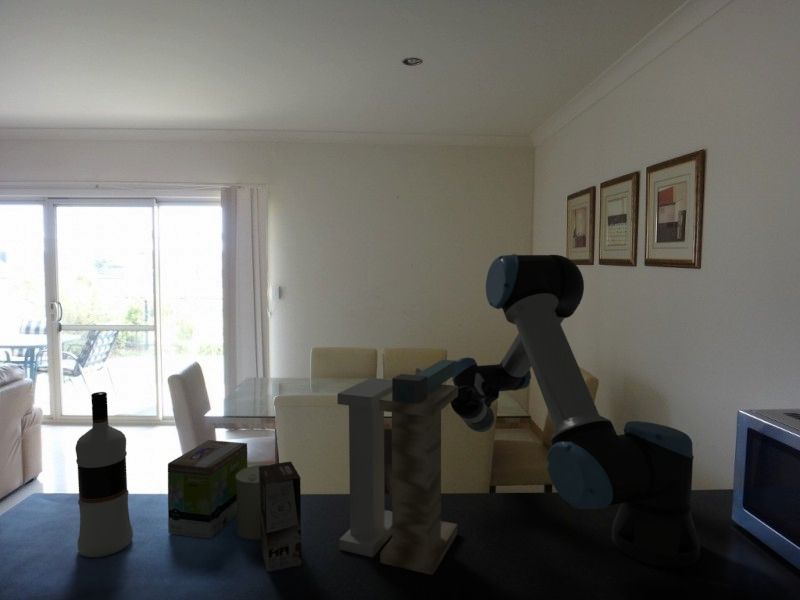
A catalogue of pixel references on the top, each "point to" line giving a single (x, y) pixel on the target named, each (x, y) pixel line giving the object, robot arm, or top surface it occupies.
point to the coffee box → (280, 515)
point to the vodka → (102, 486)
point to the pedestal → (417, 483)
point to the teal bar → (421, 382)
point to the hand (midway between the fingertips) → (445, 376)
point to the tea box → (204, 488)
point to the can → (248, 503)
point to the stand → (366, 468)
